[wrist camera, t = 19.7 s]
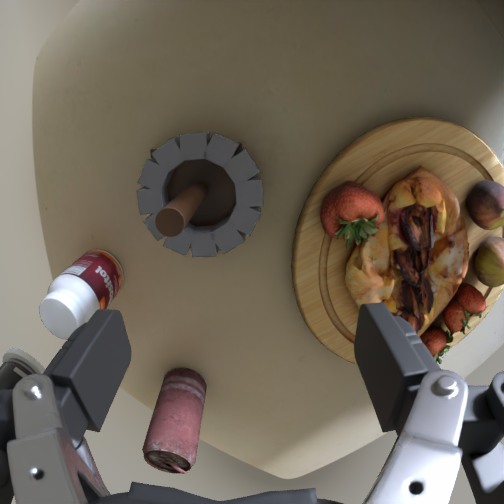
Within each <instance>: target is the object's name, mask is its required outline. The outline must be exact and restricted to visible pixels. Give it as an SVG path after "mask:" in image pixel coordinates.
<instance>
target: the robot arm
mask: <svg viewBox="0 0 504 504" xmlns="http://www.w3.org/2000/svg"><path fill="white" fill-rule="evenodd" d="M67 340H68V341H66V342H65V343H64V345H63V346H62V349H60V350H59V352H58V353H57V354H56V356H55V357H54V358H53V360H52V361H51V363H50V364H49V365H48V367H47V368H46V370H45V371H44V372H43V374H40V373H36V372H35V371H34V370H33V369H32V368H31V367H30V366H29V365H27V364H26V363H24V362H23V361H21V360H19V359H15V358H11V359H9V360H8V361H7V362H4V363H3V364H2V366H1V367H0V504H11V502H12V499H13V496H14V495H15V500H16V504H343V503H339V502H336V501H331V500H326V499H317V496H316V489H315V488H310V489H301V490H287V491H269V492H265V493H260V494H257V495H252V496H247V497H242V498H237V499H232V500H226V501H215V500H211V499H208V498H204V497H200V496H197V495H194V494H191V493H187V492H184V491H181V490H178V489H175V488H170V487H162V486H155V485H149V484H143V483H136V482H132V483H131V487H130V490H129V492H125V493H117V494H113V495H111V494H110V492H109V491H108V490H107V488H106V486H105V485H104V483H103V481H102V478H101V476H100V474H99V471H98V469H97V467H96V464H95V462H94V459H93V457H92V454H91V452H90V449H89V446H88V444H87V441H86V439H85V438H84V436H83V435H84V433H85V431H86V430H92V431H96V432H100V430H101V427H102V425H103V422H104V420H105V418H106V415H107V413H108V411H109V408H110V406H111V404H112V402H113V399H114V397H115V395H116V393H117V390H118V388H119V386H120V384H121V381H122V379H123V377H124V375H125V373H126V370H127V368H128V366H129V364H130V361H131V347H130V343H129V340H128V336H127V333H126V329H125V326H124V322H123V318H122V315H121V313H120V311H119V310H109V309H98V310H96V312H95V313H94V314H93V315H92V317H91V318H90V319H89V321H88V322H87V323H86V322H85V323H84V324H83V325H81V326H80V327H78V328H77V329H75V330H74V331H73V333H72V334H71V335H70V337H69V338H68V339H67ZM354 355H355V359H356V362H357V365H358V367H359V370H360V372H361V375H362V378H363V380H364V383H365V385H366V388H367V391H368V393H369V396H370V399H371V401H372V404H373V407H374V409H375V412H376V415H377V417H378V420H379V423H380V426H381V429H382V431H383V432H388V431H393V430H396V433H397V435H398V437H397V439H396V441H395V443H394V445H393V448H392V450H391V452H390V454H389V456H388V458H387V460H386V462H385V464H384V466H383V468H382V470H381V472H380V474H379V475H378V478H377V479H376V481H375V483H374V485H373V487H372V488H371V490H370V492H369V494H368V495H367V497H366V498H365V500H364V502H363V503H362V504H448V501H449V498H450V495H451V492H452V489H453V486H454V483H455V480H456V476H457V473H458V469H459V466H460V462H462V465H463V468H464V470H465V473H466V476H467V478H468V481H469V483H470V486H471V489H472V492H473V495H474V498H475V501H476V504H504V447H503V445H502V443H501V439H502V438H503V437H504V371H502V372H499V373H497V374H496V375H495V376H494V378H493V380H492V382H491V384H490V386H468V385H467V383H466V381H465V380H464V379H463V378H462V377H461V376H460V375H458V374H457V373H454V372H452V371H449V370H441V368H440V367H439V365H438V364H437V362H436V361H435V359H434V358H433V356H432V355H431V353H430V352H429V350H428V349H427V347H426V346H425V344H424V343H422V340H421V339H420V337H419V336H418V335H417V334H416V331H415V330H414V329H413V327H412V326H411V324H410V323H409V322H407V321H406V320H404V319H403V318H401V317H400V316H393V315H392V313H391V312H390V310H389V309H388V307H387V306H386V305H385V303H383V302H380V303H369V304H362V305H361V306H360V309H359V315H358V321H357V328H356V334H355V340H354Z"/></svg>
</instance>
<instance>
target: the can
mask: <svg viewBox="0 0 504 504" xmlns="http://www.w3.org/2000/svg"><path fill="white" fill-rule="evenodd" d="M205 395H206V383H205V381H204V379H203V378H202V377H201V376H200V375H199V374H198V373H196V372H195V371H192V370H190V369H185V368H178V369H174V370H172V371H170V372H168V373H167V374H166V375H165V377H164V380H163V383H162V386H161V389H160V392H159V396H158V399H157V402H156V405H155V409H154V412H153V415H152V419H151V422H150V425H149V429H148V432H147V435H146V439H145V442H144V446H143V449H142V450H143V453H144V459H145V461H146V462H147V463H148V464H149V465H151V466H152V467H154V468H156V469H158V470H161V471H165V472H169V473H183V474H184V473H188V472H189V471H190V469H191V467H192V466H193V465H194V463H195V460H196V453H197V447H198V440H199V433H200V427H201V420H202V414H203V407H204V401H205Z"/></svg>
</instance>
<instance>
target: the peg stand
mask: <svg viewBox="0 0 504 504" xmlns="http://www.w3.org/2000/svg"><path fill="white" fill-rule="evenodd" d="M237 143H239V146H238V148H237V150H236V152H235V154H234V156H235V155H236V154H238V153H239V152H241V151H242V150H243V142H237ZM157 149H158V148H157ZM155 150H156V149H151V158H154V157H153V155H152V153H153V152H154V151H155ZM167 189H168V197H169V203H168V204H167V205H166V206H165V207H164V208H162V209H161V210H160V211H159V212H158V214H157V215H156V218H155V224H156V228H157V229H158V231H159V232H160V233H161V234H162V235H164V236H167V237H175V236H177V235H179V234H180V233H181V232H182V231H183V229H184V228H185V227H186V225H187V224H188V223H190V224H192V225H194V226H196V227H197V226H213V225H216V224H217V223H219V222H220V221H222V220H223V219H225V218H226V217H228V216H229V215H230V213H231V211H232V209H233V207H234V205H235V203H236V192H235V184H234V182H233V181H232V179H231V178H230V176H229V175H228V174H227V172H226V171H225V169H224V168H223V167H221V166H219V165H217V164H215V163H213V162H210V161H208V160H206V159H198V160H187V161H186V162H184V163H183V164H181V165H180V166H179V167H177V168H176V169H175V170H174V172H173V174H172V176H171V179H170V181H169V183H168V186H167Z"/></svg>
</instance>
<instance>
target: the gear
mask: <svg viewBox="0 0 504 504" xmlns="http://www.w3.org/2000/svg"><path fill="white" fill-rule="evenodd" d="M179 138H180V139H179ZM179 138H178V137H176V138H171V139H170V140H168V141H167V142H166V143H164V144H163V145H162V146H160V147H159V148H158V149H156V150H155V151H154V152H153V153H152V155H153V157H154V158H151V159H147V160H146V163H145V165H144V168H143V170H142V173H141V175H140V178H139V180H138V183H139V184H141V185H143V186H144V187H142V188H140V189H138V190H137V196H138V203H139V210H140V215H143V214H151V215H150V216H149V217H147V218H146V219H145V220H144V221H143V222H144V224H145V225H146V226H147V228H148V229H149V230H150V232H151V233H152V234H153V236H154V237H155V238H156V240H157V241H159V240H160V239H161V238H163V237H164V235H162V234H161V233H160V232H159V231H158V229H157V228H156V224H155V218H156V215H157V214H158V212H159V211H160V210H161V209H162V208H164V207H165V206H166V205H167V204H168V203H169V197H168V189H167V186H168V183H169V181H170V179H171V176H172V174H173V172H174V170H175V169H176V168H177V167H179V166H180V165H181V164H183V163H184V162H186V161H187V160H198V159H206V160H208V161H210V162H213V163H215V164H217V165H219V166H221V167H223V168H224V169H225V171H226V172H227V174H228V175H229V176H230V178H231V179H232V181H233V182H234V184H235V192H236V203H235V205H234V207H233V209H232V211H231V213H230V215H229V216H228V217H226V218H225V219H223V220H222V221H220V222H219V223H217V224H216V225H213V226H197V227H196V226H194V225H192V224H190V223H188V224H187V225H186V227H185V228H184V229H183V231H182V232H181V233H180V234H179V235H177V236H175V237H166V240H165V242H164V245H163V246H165V247H167V248H169V249H171V250H173V251H175V252H178V253H180V254H182V255H184V256H186V254H187V252H188V250H189V248H190V246H191V251H192V257H213V256H217V254H218V250H219V249H220V250H221V251H222V253H223V254H225V253H227V252H228V251H230V250H231V249H233V248H235V247H236V246H238V245H239V244H241V243H243V242H244V241H245V234H247V235H249V236H250V235H251V233H252V231H253V229H254V227H255V225H256V223H257V221H258V219H259V218H260V216H261V207H259V206H263V188H262V177H261V176H256V177H253V176H255V175H256V174H258V173H259V168H258V167H257V165H256V164H255V162H254V161H253V159H252V158H251V156H250V155H249V154H248V152H247V151H246V149H244V150H242V151H241V152H239V153H238V154H236V155H235V156H234V154H235V152H236V150H237V148H238V146H239V143H237V142H235V141H233V140H230V139H228V138H226V137H224V136H222V135H220V134H218V133H214V134H213V135H212V138H211V140H210V133H209V132H199V133H190V134H181V135H179Z"/></svg>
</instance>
